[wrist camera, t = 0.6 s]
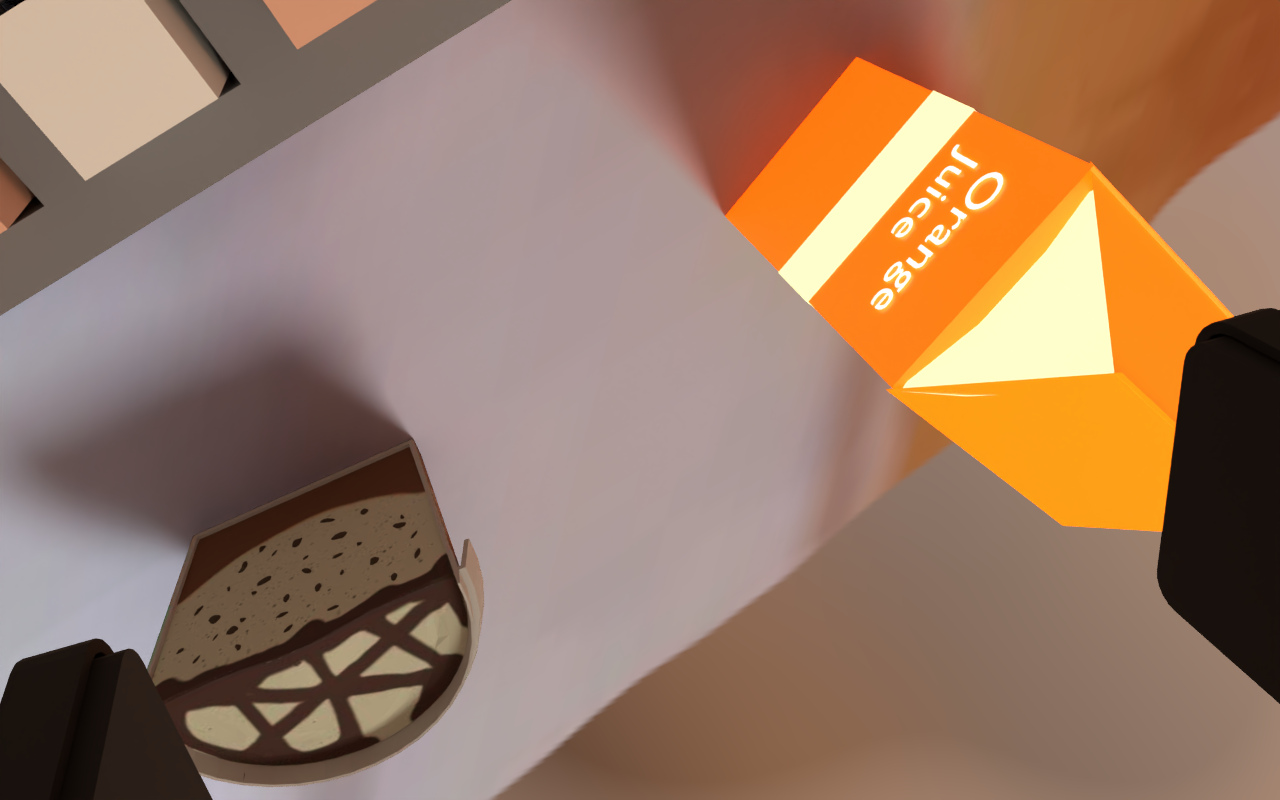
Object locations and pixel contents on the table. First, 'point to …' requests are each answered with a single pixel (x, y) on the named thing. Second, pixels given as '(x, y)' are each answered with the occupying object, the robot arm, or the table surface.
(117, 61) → the middle button
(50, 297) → the table surface
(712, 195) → the table surface
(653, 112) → the table surface
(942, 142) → the orange juice
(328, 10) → the inner button
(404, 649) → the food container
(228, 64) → the control panel
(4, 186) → the outer button
